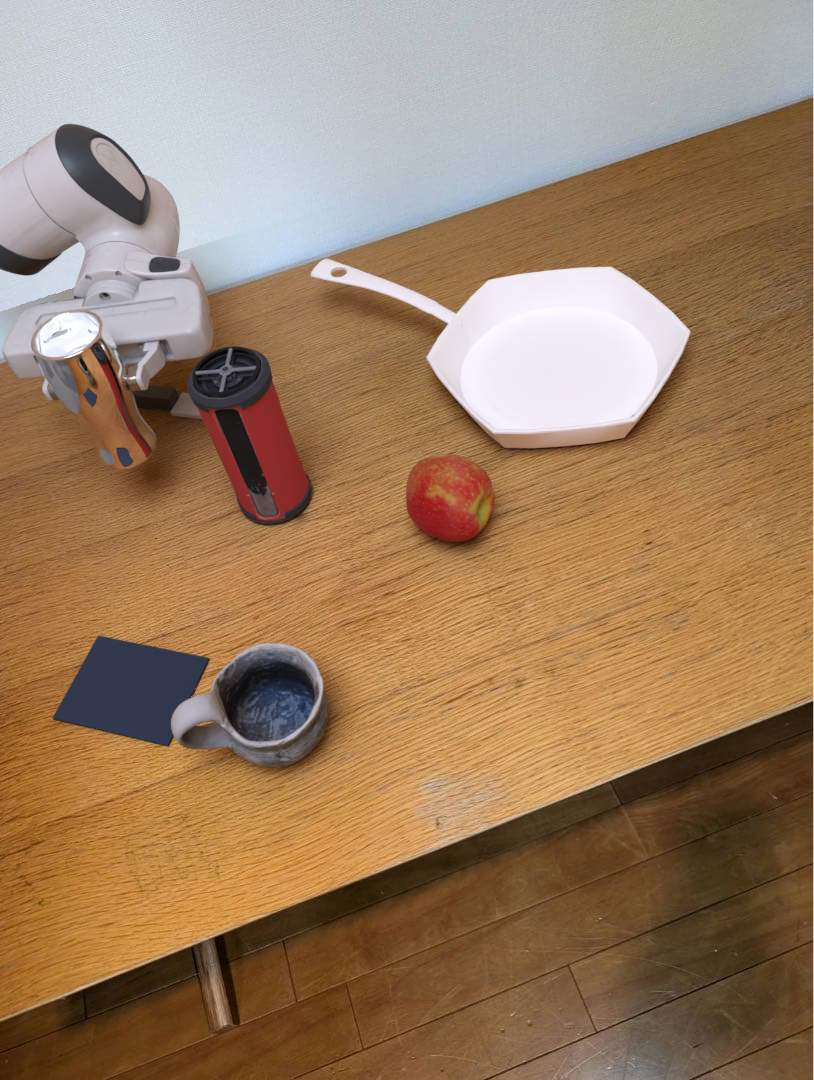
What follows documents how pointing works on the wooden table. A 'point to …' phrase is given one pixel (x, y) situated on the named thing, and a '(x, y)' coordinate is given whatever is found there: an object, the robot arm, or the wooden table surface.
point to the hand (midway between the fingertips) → (94, 390)
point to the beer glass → (94, 386)
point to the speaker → (250, 433)
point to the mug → (259, 707)
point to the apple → (449, 497)
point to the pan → (548, 352)
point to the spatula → (167, 401)
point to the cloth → (131, 689)
